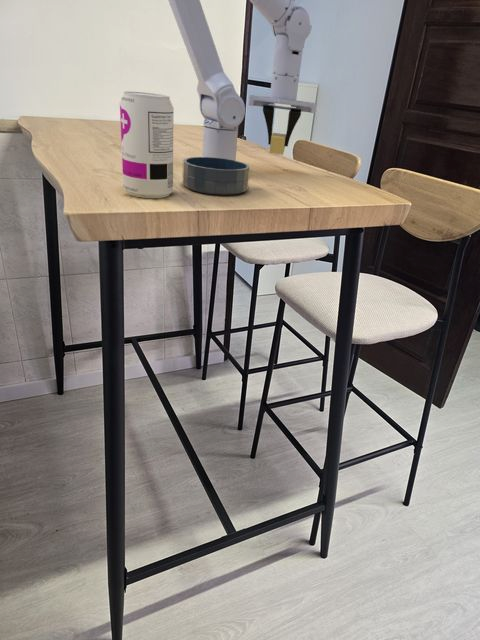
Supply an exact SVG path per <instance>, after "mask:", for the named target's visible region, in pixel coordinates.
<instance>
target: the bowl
mask: <svg viewBox="0 0 480 640" xmlns="http://www.w3.org/2000/svg"><path fill="white" fill-rule="evenodd" d="M250 171H251V166H250V165H249V164H248V163H247V162H246V163H245V162H243V161H239V160H236V161H235V160H230V159H224V158H215V157H202V156H192V157H191V156H190V157H185V158H183V159H182V180H181V181H182V185H183V186H184V187H186V188H187V189H189V190H191V191H192V192H193V191H194V192H196V193H201V194H206V195H213V196H236V195H239V194H243V193H245V192H247V191H248V189H249V184H250V173H251V172H250Z"/></svg>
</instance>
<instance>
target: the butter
mask: <svg viewBox="0 0 480 640" xmlns="http://www.w3.org/2000/svg"><path fill="white" fill-rule="evenodd" d="M285 138H286V133H280V132H279V133H278V132H272V136H271V144H270V146H269V154H274V155H281V156H283V155H284V153H285V148H286V146H285Z"/></svg>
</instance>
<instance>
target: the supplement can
mask: <svg viewBox="0 0 480 640" xmlns="http://www.w3.org/2000/svg"><path fill="white" fill-rule="evenodd" d="M170 98H171V97H170V96H169V95H166V94H160V93H153V92H152V93H151V92H145V91H144V92H143V91H130V90H129V91H128V90H127V91H123V95H122V97H121V99H120V102H119V115H120V116H119V117H120V118H119V119H120V120H119V121H120V139H121V140H120V141H121V143H120V144H121V158H122V159H121V164H122V165H121V166H122V167H121V168H122V187H123V189H124V190H125V191H126V193H127V194H128V195H130V196H133V197H136V198H137V197H138V198H143V199H162V198H163V199H164V198H167V197H168V196H169V197H170V194H171V193H173V192H174V106H173V103H172V102H171V99H170Z"/></svg>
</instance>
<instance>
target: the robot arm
mask: <svg viewBox="0 0 480 640" xmlns="http://www.w3.org/2000/svg"><path fill="white" fill-rule="evenodd" d="M249 2H250V3H251V4H252V5H253V6H254V7H255V8H256V9H257V11H258V12H259V14H261V16H263V17H264V19H265V20H266V21H267V22H268V23H269V24H270V25H271V32H272V34H273V36H274V37H275V45H274V53H273V54H274V55H273V63H272V74H271V82H270V91H269V96H262V95H253V94H249V97H248V106H252V107H260V108H261V107H262V113H263V116H264V120H265V125H266V129H267V137H268V139H267V140H268V142H267V145H270V144H271V136H272V134H273V126H274V125H273V124H274V117H275V109H279V110H287V111H289V112H288V116H287V117H288V118H287V128H286V133H285V134H286V138H285V148H286V147H289V143H290V139H291V136H292V133H293V132H294V129H295V126H296V125H297V123H298V121H299V119H300V118H301V115H302V112H303V113H310V114H316V112H317V111H316V110H317V103H316V102H310V101H303V100H297V97H298V89H299V82H300V73H301V66H302V58H303V50H304V49H305V43H306V40H307V39H308V37H309V36H310V34H311V31H312V28H313V26H312V25H311V19H310V16H309V13H308V11H307V10H306V9H305V8H304V7H303V6H299V5H297V4H296V1H295V0H249ZM168 3H169V6H170V9H171V12H172V14H173V16H174V19H175V22H176V24H177V27H178V30H179V33H180V35H181V38H182V40H183V44H184V46H185V48H186V52H187V54H188V57H189V59H190V62H191V65H192V67H193V71H194V73H195V75H196V78H197V86H196V92H197V94H198V98H199V111H200V114H201V116H202V117H203V127H202V152H201V153H202V154H201V157H215V158H224V159H230V160H235V161H237V150H238V135H239V126H240V124H241V123H242V122H243V120H244V118H245V115H246V105H245V102H244V100H243V98H242V97H241V96H240V95H239V94H238V93H237V91H236V88H235V85H234V84H233V82H232V81H231V80H230V78H229V77H228V75H227V74H226V73H225V71H224V68H223V65H222V63H221V59H220V57H219V53H218V50H217V48H216V45H215V41H214V39H213V35H212V33H211V30H210V26H209V24H208V23H209V22H208V21H207V20H208V19H207V18H206V14H205V12H204V9H203V6H202V3H201V0H168ZM275 104H279V105H275ZM282 105H287V106H282Z"/></svg>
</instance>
